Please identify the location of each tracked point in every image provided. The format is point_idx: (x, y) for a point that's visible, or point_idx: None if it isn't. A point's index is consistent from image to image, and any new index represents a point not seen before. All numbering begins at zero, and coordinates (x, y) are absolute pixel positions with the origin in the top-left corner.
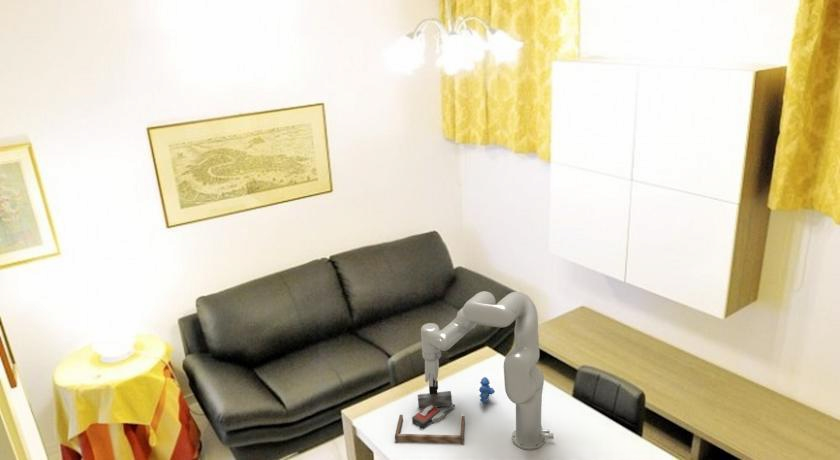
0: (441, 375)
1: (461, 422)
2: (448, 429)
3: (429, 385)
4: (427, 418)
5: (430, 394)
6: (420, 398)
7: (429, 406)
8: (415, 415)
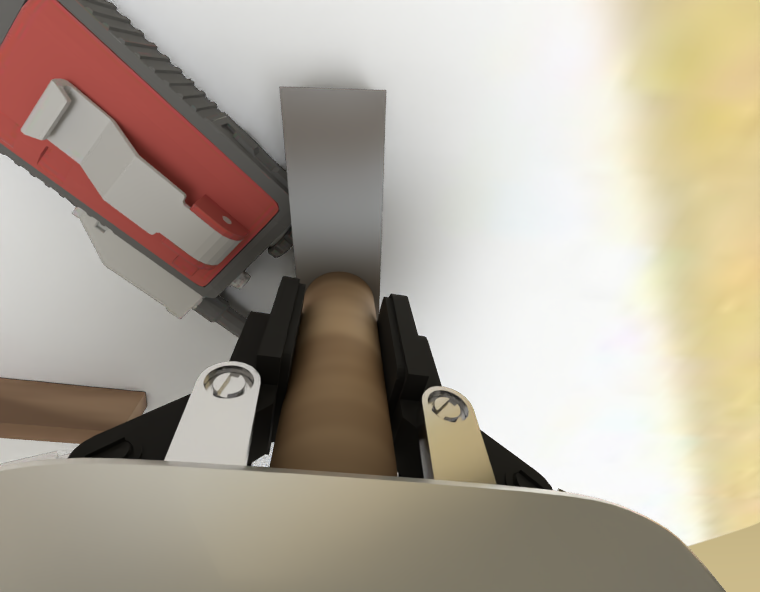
0: (713, 320)
1: (34, 426)
2: (42, 311)
3: (195, 390)
4: (38, 168)
5: (353, 263)
6: (283, 127)
7: (193, 218)
8: (66, 15)
